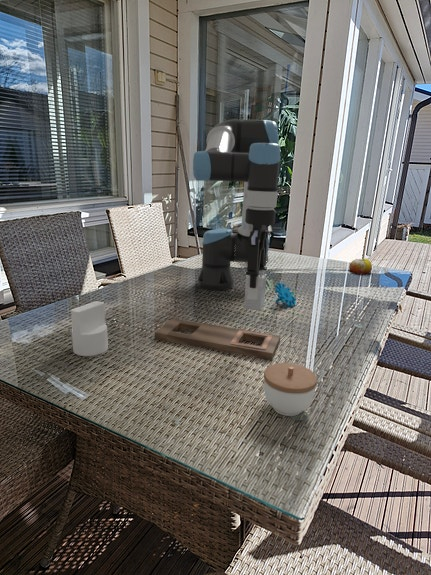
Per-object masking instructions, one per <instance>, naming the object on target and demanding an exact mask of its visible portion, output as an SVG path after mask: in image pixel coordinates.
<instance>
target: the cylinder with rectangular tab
mask: <svg viewBox="0 0 431 575" xmlns="http://www.w3.org/2000/svg"><path fill="white" fill-rule="evenodd" d="M105 306H106V305H105V302H102V301H100V300H96V301H92V302H89V303H87V304H83V305H81V306H78V307H75V308H72V309H70V316H71V340H72V352H73V353H74V354H76V355H78V356H82V357H83V356H84V357H93V356H97V355H100V354H103V353H105V352H106V351H107V350H108V349H109V343H108V342H109V339H108V325H107V324H106V307H105Z"/></svg>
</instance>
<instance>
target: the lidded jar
mask: <svg viewBox="0 0 431 575" xmlns="http://www.w3.org/2000/svg"><path fill="white" fill-rule="evenodd" d="M317 383H318V378H317V376H316V374H315V372H313V371H312V370H311V369H309V368H307V367H306V366H304V365H300V364H297V363H293V362H291V363H290V362H280V363H279V362H277V363H273V364H270V365H269V366H268V367H266V368H265V369H264V372H263V390H264V395H265V399H266V401H267V402H268V404H269V405H270V406H271V408H273V411H275V412H276V413H277V414H279V415H281V416H285V417H295V416H298V415H300V414H301V413H303V412H304V411H305V410H306V409H307V408H309V407H310V405H311V403H312V401H313V399H314V397H315V392H316V387H317Z"/></svg>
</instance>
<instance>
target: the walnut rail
mask: <svg viewBox="0 0 431 575" xmlns="http://www.w3.org/2000/svg"><path fill="white" fill-rule="evenodd" d="M179 330H183V331H188V332H193V333H192V334H189V333H186V332H185V333H183V332H179ZM154 340H159V341H164V342H169V343H176V344H181V345H186V346H193V347H197V348H203V349H209V350H214V351H219V352H226V353H230V354H235V355H242V356H245V357H246V356H248V357H253V358H258V359H263V360H269V361H273V359H274V356H275V354H276V353H277V350H278V348H279V345H280V343H281V335H279V334H278V335H277V334H272V333H266V332H265V333H264V332H259V331H254V330H253V331H252V330H249V329H242V328H241V329H240V328H235V327H230V326H222V325H216V324H209V323H203V322H199V321H192V320H186V319H179V318H173V317H171V319H169V320H168V321H166V323H165V324H163V325H162V326H160V327H159V328H158V329H157V330H156V331H155V332H154ZM243 341H247V342H254V343H259V344H261V345H253V344H249V343H248V344H247V343H243Z"/></svg>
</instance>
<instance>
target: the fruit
mask: <svg viewBox="0 0 431 575" xmlns="http://www.w3.org/2000/svg"><path fill="white" fill-rule="evenodd" d="M348 269H349V271H350V272H352V273H354V274H358V275H370V274H371V272H372V270H373V265H372V262H371V261H370V260H369V259H367V258H355V259H353V260H352V261H350V263H349V266H348Z"/></svg>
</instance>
